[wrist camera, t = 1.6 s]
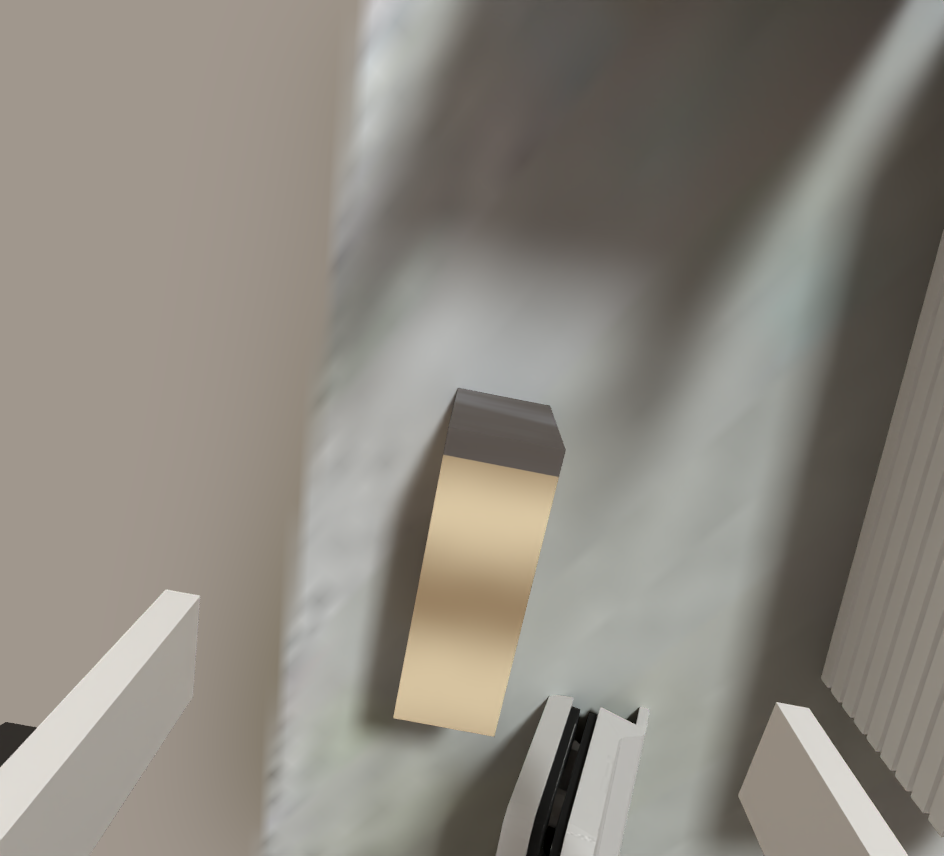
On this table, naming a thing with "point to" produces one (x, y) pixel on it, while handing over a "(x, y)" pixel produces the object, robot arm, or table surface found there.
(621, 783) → the white rounded block
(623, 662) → the table surface
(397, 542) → the table surface
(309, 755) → the table surface
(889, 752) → the white ribbed block
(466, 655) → the tan wooden block
